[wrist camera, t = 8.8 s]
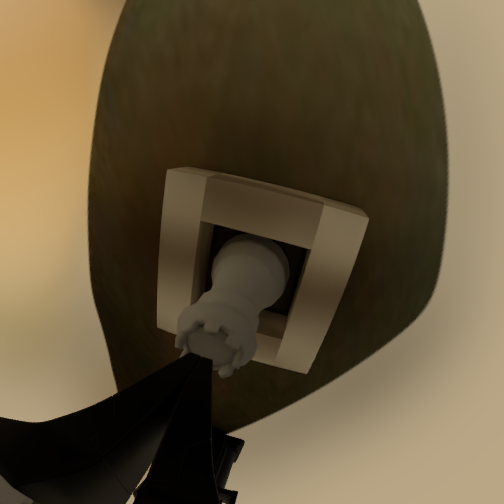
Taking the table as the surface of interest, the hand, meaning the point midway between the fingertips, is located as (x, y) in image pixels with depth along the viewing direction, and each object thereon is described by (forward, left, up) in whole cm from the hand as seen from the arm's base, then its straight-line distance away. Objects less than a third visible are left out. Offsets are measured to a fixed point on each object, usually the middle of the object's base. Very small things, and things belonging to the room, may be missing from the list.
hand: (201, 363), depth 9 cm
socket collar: (0, 0, -8) cm, 9 cm away
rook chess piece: (0, 0, -9) cm, 9 cm away
